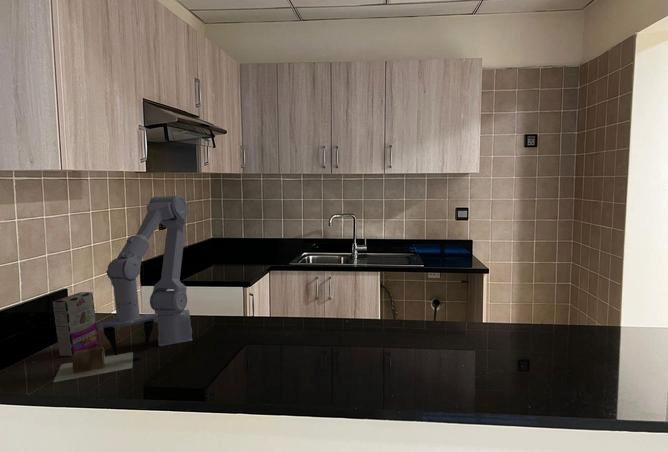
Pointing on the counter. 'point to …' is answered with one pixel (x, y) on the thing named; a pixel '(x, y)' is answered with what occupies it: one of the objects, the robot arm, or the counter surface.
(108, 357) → the cream board
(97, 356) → the walnut block
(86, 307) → the candy bar box
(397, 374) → the counter surface
